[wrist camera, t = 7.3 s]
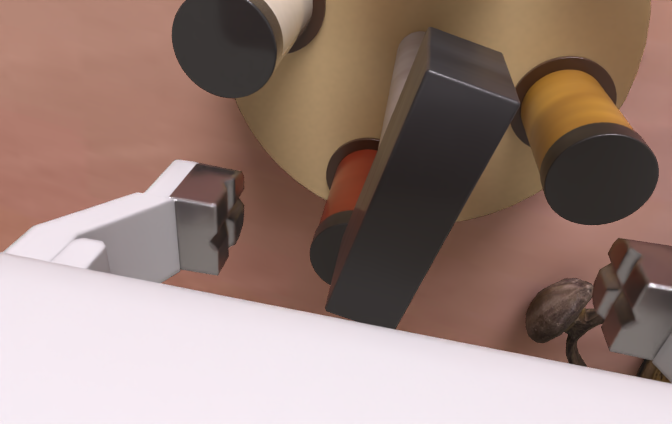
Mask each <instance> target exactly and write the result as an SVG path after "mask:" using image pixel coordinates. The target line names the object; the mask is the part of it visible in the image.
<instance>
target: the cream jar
mask: <svg viewBox="0 0 672 424" xmlns="http://www.w3.org/2000/svg"><path fill="white" fill-rule="evenodd" d="M312 11H313V0H186V1H185V2H184V3H183V4H182V5H181V6H180V8H179V9H178V11H177V13H176V15H175V18H174V21H173V27H172V43H173V48H174V52H175V55H176V58H177V60H178V62H179V64H180V66H181V67H182V69H183V71H184V72H185V73H186V75H187V76H188V77H189V78H190V79H191V80H192V81H193V82H194V83H195V84H196V85H198V86H199V87H200V88H202V89H203V90H205V91H207V92H209V93H211V94H214V95H216V96H220V97H225V98H242V97H246V96H249V95H251V94H254V93H255V92H257V91H259V90H260V89H261V88H262V87H263V86H264V85H265V84H266V83H267V82H268V81H269V79H270V78H271V77H272V75H273V74H274V73H275V71H276V70H277V68H278V66H279V64H280V62H281V61H282V60H283V58H284V57H285V56H286V54H287V53H288V52H289V51H290V49H291V48H292V47H293V45H294V44H295V43H296V41H297V40H298V39H299V37H300V36H301V35H302V34H303V32H304V31H305V29H306V28H307V26H308V24H309V22H310V20H311V16H312Z"/></svg>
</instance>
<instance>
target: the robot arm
mask: <svg viewBox="0 0 672 424" xmlns="http://www.w3.org/2000/svg"><path fill="white" fill-rule="evenodd" d="M243 190H244V175H243V173H242V171H238V170H233V169H227V168H222V167H217V166H212V165H207V164H202V163H198V162H192V161H186V160H174V161H173V162H172V163H171V164H170V165H169V167H168V168H167V169H166V170H165V171H164V172H163V173H162V174H161V175H160V176H159V177H158V178H157V179H156V181H155V182H154V183H153V184H152V185H151V186H150V187H149V188H148V189H147V190H146V191H145V192H144V193H138V192H137V193H134V194H130V195H127V196H124V197H121V198H118V199H115V200H112V201H109V202H106V203H103V204H100V205H97V206H94V207H90V208H87V209H84V210H81V211H78V212H75V213H72V214H69V215H66V216H63V217H60V218H57V219H54V220H50V221H47V222H44V223H41V224H38V225H35V226H32V227H31V228H30V229H29V230H28V231H27V232H25V233H24V234H23V235H22V236H21V237H20V238H19V239H17V240H16V241H15V242H14V243H13V244H12V245H11V246H9V247H8V248H7V249H6V250H5V251H4V252H0V424H672V246H668V245H661V244H655V243H648V242H642V241H635V240H628V239H621V238H618V239H617V240H616V241H615V242H614V243H613V245H612V247H611V248H610V250H609V252H608V255H609V258H610V261H611V263H610V264H609V265H607V266H605V267H603V268H602V269H600V270H599V272H598V275H597V277H596V279H595V281H594V286H593V292H592V298H593V305H594V308H595V311H596V313H598V314H599V315H600V316H601V317H602V318H603V319H604V320H605V321H604V323H603V324H602V326H601V329H602V331H603V334H604V337H605V340H606V343H607V345H608V348H609V351H611V352H616V353H621V354H625V355H630V356H634V357H639V358H643V359H648V360H653V361H652V363H653V364H654V365H655V366H656V367H657V368H658V369H659V370H660V371H661V372H662V373H663V374H664V376H665V377H666V378H667V379H668V380H669V381H670V382H671V383H667V382H661V381H656V380H651V379H646V378H641V377H636V376H631V375H626V374H621V373H615V372H610V371H605V370H600V369H595V368H590V367H585V366H580V365H575V364H569V363H564V362H559V361H554V360H549V359H544V358H539V357H534V356H529V355H523V354H518V353H513V352H508V351H503V350H498V349H493V348H488V347H483V346H477V345H472V344H467V343H462V342H457V341H452V340H447V339H442V338H437V337H432V336H426V335H421V334H416V333H411V332H406V331H401V330H396V329H391V328H386V327H381V326H375V325H370V324H365V323H360V322H355V321H350V320H345V319H340V318H335V317H330V316H324V315H319V314H314V313H309V312H304V311H299V310H294V309H289V308H284V307H278V306H273V305H268V304H263V303H258V302H253V301H248V300H243V299H238V298H233V297H227V296H222V295H217V294H212V293H207V292H202V291H197V290H192V289H187V288H182V287H176V286H171V285H166V284H161V283H162V282H163V281H165V280H167V279H168V278H170V277H172V276H173V275H175V274H176V273H178V272H180V269H181V270H188V271H194V272H200V273H206V274H212V275H219V273H220V271H221V269H222V267H223V266H224V264H225V262H226V260H227V259H228V257H229V252H228V248H229V247H231V246H233V245H235V244H236V242H237V240H238V238H239V236H240V233H241V229H242V226H243V219H244V204H243V203H242V202H241V200H240V199H239V197H240V195H241V193H242V192H243Z"/></svg>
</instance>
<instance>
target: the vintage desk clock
mask: <svg viewBox="0 0 672 424" xmlns="http://www.w3.org/2000/svg"><path fill="white" fill-rule="evenodd" d="M592 292H593V285H592V284H590V283H588V282H586V281H583V280H580V279H577V278H571V279H563V280H561V281H559V282H557V283H555V284H553V285H551V286H549V287H547V288H545V289H543V290H542V291H540V292H539V293H538V294H537V295H536V297H535V298H534V299H533V301H532V302H531V304H530V306H529V308H528V310H527V312H526V330H527V334H528V336H529V337H530V338H531V339H532V340H533V341H535V342H536V343H545V342H548V341H550V340H551V339H553V338H555V337H557V336H559V335H561V334H562V333H563V332H565V333H567V334H568V337H567V340H566V356H567V359H568V362H569V364H575V365H580V366H585V367H587V366H586V364H585V362H584V361H583V359H582V358H581V356H580V354H579V352H578V348H577V341H578V339H579V338H580V337H581V336H582V335H584V334H585V333H586V332H587V331H588V330H590V329H592V328H594V327H595V326H597V325H599V324H603V323H604V321H605V320H604V319H603V318H602V317H601V316H600V315H599V314H598V313H596V311H595V309H586V308H584V307H585V306H586V305H587V303H588V302H589V301H590V299H591V298H592ZM652 361H653V360H648V359H644V361H643V363H642V365H641V366H640V368H639V371H638V373H637V376H636V377H641V378H646V379H651V380H656V381H661V382H667V383H671V382H670V381H669V380H668V379H667V378H666V377H665V376H664V374H663V373H662V372H661V371H660V370H659V369H658V368H657V367H656V366H655V365H654V364H653V363H652Z"/></svg>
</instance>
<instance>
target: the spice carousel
mask: <svg viewBox="0 0 672 424" xmlns="http://www.w3.org/2000/svg"><path fill="white" fill-rule="evenodd" d="M650 14H651V0H313V11H312V16H311V20H310V22H309V24H308V26H307V28H306V29H305V31H304V32H303V34H302V35H301V36H300V37H299V39H298V40H297V41H296V43H295V44H294V45H293V47H292V48H291V49H290V51H289V52H288V53H287V54H286V56H285V57H284V58H283V60H282V61H281V62H280V64H279V66H278V68H277V70H276V71H275V73H274V74H273V75H272V77H271V78H270V79H269V81H268V82H267V83H266V84H265V85H264V86H263V87H262V88H261V89H260V90H259V91H257V92H255V93H254V94H251V95H249V96H246V97H242V98H235V100H236V102H237V105H238V107H239V110H240V111H241V113H242V115H243V117H244V119H245V121H246V122H247V124H248V126H249V128H250V130H251V131H252V133H253V134H254V135H255V137H256V138H257V140H258V141H259V142H260V144H261V145H262V147H263V148H264V149H265V151H266V152H267V153H268V154H269V155H270V156H271V157H272V158H273V159H274V161H275V162H276V163H277V164H278V165H279V166H280V167H281V168H282V169H283V170H284V171H286V172H287V173H288V174H289V175H290V176H291V177H292V178H293V179H295V180H296V181H297V182H298V183H300V184H301V185H303V186H304V187H305V188H307V189H308V190H310V191H311V192H313V193H314V194H316V195H317V196H319V197H321V198H323V199H325V200H327V201H326V205H325V208H324V211H323V214H322V217H321V220H320V223H319V226H318V228H317V230H316V232H315V235H314V238H313V241H312V244H311V248H310V260H311V263H312V266H313V268H314V270H315V272H316V273H317V274H318V276H319V277H320V278H321V279H323V280H324V281H325V282H326V283H328V284H329V285H331V286H330V290H329V294H328V298H327V302H326V306H325V310H326V311H327V312H330V313H333V314H336V315H339V316H342V317H345V318H348V319H351V320H354V321H357V322H360V323H365V324H370V325H375V326H381V327H386V328H391V329H396V327H397V325H398V324H399V322H400V320H401V318H402V316H403V315H404V313H405V311H406V309H407V308H408V306H409V304H410V302H411V300H412V299H413V297H414V295H415V293H416V291H417V290H418V288H419V286H420V284H421V282H422V281H423V279H424V277H425V275H426V274H427V272H428V270H429V268H430V266H431V265H432V263H433V261H434V259H435V257H436V256H437V254H438V252H439V250H440V248H441V247H442V245H443V243H444V241H445V240H446V238H447V236H448V234H449V232H450V231H451V229H452V227H453V225H454V223H455V222H458V221H465V220H469V219H473V218H477V217H481V216H485V215H489V214H492V213H494V212H497V211H500V210H502V209H505V208H508V207H510V206H513V205H515V204H517V203H519V202H521V201H522V200H524V199H526V198H528V197H530V196H532V195H534V194H536V193H537V192H539V191H540V190H542V189H543V191H544V194H545V197H546V199H547V202H548V204H549V205H550V207H551V208H552V209H553V210H554V211H555V212H556V213H557V214H558V215H560V216H561V217H563V218H564V219H566V220H569V221H571V222H574V223H578V224H583V225H601V224H607V223H611V222H615V221H618V220H620V219H622V218H625V217H627V216H628V215H630V214H632V213H633V212H635V211H636V210H638V209H639V208H640V207H641V206H642V205H643V204H644V203H645V202H646V201H647V200H648V199H649V197H650V196H651V195H652V193H653V191H654V189H655V187H656V184H657V181H658V176H659V168H658V162H657V159H656V157H655V155H654V153H653V152H652V150H651V149H650V148H649V146H648V145H647V144H646V142H645V141H644V140H643V139H642V137H641V136H640V135H639V134H638V133H636V132H635V131H634V130H633V128H632V127H631V125H630V124H629V123H628V121H627V120H626V119H625V117H624V116H623V115H622V113H621V112H620V111H619V109H620V107H621V106H622V104H623V102H624V101H625V99H626V97H627V94H628V92H629V90H630V88H631V85H632V83H633V81H634V79H635V76H636V74H637V72H638V68H639V65H640V62H641V58H642V55H643V51H644V48H645V45H646V39H647V33H648V27H649V20H650Z"/></svg>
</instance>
